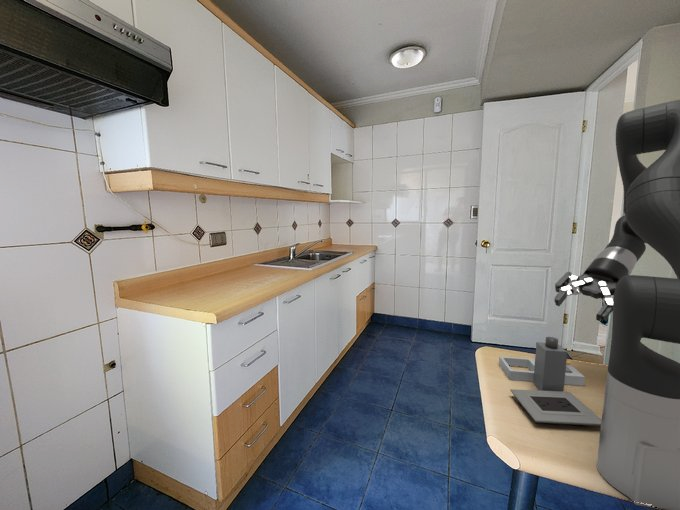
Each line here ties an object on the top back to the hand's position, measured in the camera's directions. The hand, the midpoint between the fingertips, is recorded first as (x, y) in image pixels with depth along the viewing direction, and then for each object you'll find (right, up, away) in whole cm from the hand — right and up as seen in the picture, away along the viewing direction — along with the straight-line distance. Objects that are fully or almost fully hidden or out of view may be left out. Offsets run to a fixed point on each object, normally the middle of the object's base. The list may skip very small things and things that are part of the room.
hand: (576, 310), depth 70 cm
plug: (-7, -19, 0) cm, 21 cm away
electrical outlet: (-11, -21, -8) cm, 25 cm away
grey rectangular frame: (-5, -18, +7) cm, 20 cm away
